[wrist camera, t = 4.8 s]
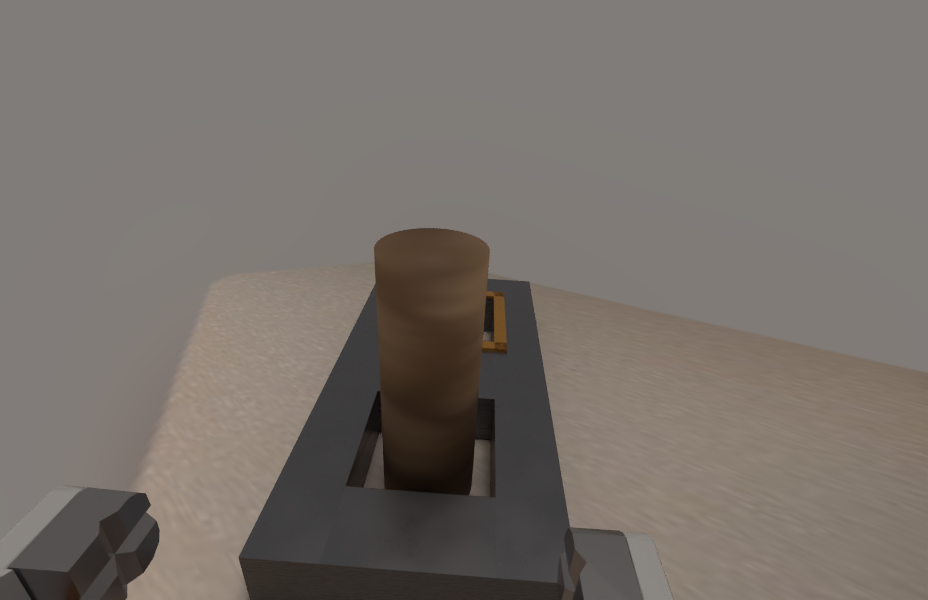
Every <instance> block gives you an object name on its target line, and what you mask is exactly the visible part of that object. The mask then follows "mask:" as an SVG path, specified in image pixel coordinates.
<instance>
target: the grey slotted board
mask: <svg viewBox="0 0 928 600" xmlns="http://www.w3.org/2000/svg"><path fill="white" fill-rule="evenodd" d="M483 331H491V342H489V341H483V343H482V356H481V369H480V381H479V394H478V407H477V420H476V432H475V439H487V440H491V497H480V496H467V495H453V494H440V493H427V492H414V491H401V490H387V489H374V488H363V486H364V482H365V479H366V475H367V472H368V469H369V465H370V462H371V459H372V455H373V452H374V448H375V445H376V442H377V438H378V435H379V432H382V414H381V391H380V368H379V346H378V323H377V300H376V284H375V286H374V288H373V290H372V292H371V294H370V296H369V298H368V300H367V302H366V304H365V306H364V308H363V310H362V312H361V314H360V316H359V318H358V320H357V322H356V324H355V326H354V328H353V330H352V332H351V334H350V336H349V338H348V340H347V342H346V344H345V346H344V348H343V350H342V352H341V354H340V356H339V358H338V360H337V362H336V364H335V366H334V368H333V370H332V372H331V374H330V376H329V378H328V380H327V382H326V384H325V386H324V388H323V390H322V392H321V394H320V396H319V398H318V400H317V402H316V404H315V406H314V408H313V410H312V412H311V414H310V416H309V418H308V420H307V422H306V424H305V426H304V428H303V430H302V432H301V434H300V436H299V438H298V440H297V442H296V444H295V446H294V448H293V450H292V452H291V454H290V456H289V458H288V460H287V462H286V464H285V466H284V468H283V470H282V472H281V474H280V476H279V478H278V480H277V482H276V484H275V486H274V488H273V490H272V492H271V494H270V496H269V498H268V500H267V502H266V504H265V506H264V508H263V510H262V512H261V514H260V516H259V518H258V520H257V522H256V524H255V526H254V528H253V530H252V532H251V534H250V536H249V538H248V540H247V542H246V544H245V546H244V548H243V550H242V552H241V554H240V556H239V561H240V565H241V568H242V572H243V576H244V579H245V583H246V586H247V590H248V593H249V597H250V600H559V598H558V585H557V577H558V564H559V559H560V555H561V554H562V553H564V552H565V551H566V550H565V543H564V538H565V534H566V530H567V529H568V528H569V527H570V525H569V519H568V513H567V507H566V501H565V495H564V489H563V483H562V477H561V471H560V465H559V459H558V453H557V447H556V441H555V434H554V428H553V422H552V416H551V410H550V404H549V398H548V392H547V386H546V380H545V374H544V368H543V362H542V356H541V350H540V344H539V338H538V332H537V326H536V320H535V314H534V308H533V302H532V296H531V289H530V283H529V282H526V281H511V280H496V279H488V280H487V292H486V305H485V318H484V330H483Z"/></svg>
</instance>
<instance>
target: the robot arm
mask: <svg viewBox="0 0 928 600" xmlns="http://www.w3.org/2000/svg"><path fill="white" fill-rule="evenodd" d="M150 506H151V505H150V502H149V500H148V498H147V495H146V493H136V492H127V491H117V490H108V489H97V488H90V487H78V486H66V485H62V486H60V487H58V488H56V489H54V490H52V491H51V492H50V493H48V494H47V495H46V496H45V498H44V499H42V500H41V501H40V502H39V503H38V504H37V505H36V506H35V507H34V508H33V509H32V510H31V511H30V512H29V513H28V514H27V515H26V516H25V517H24V518H23V519H22V520H21V521H20V522H19V523H18V524H17V525H16V526H15V527H14V528H13V529H12V530H11V531H10V532H9V533H8V534H7V535H6V536H5V537H4V538H3V539H2V540H0V600H126V598H127V584H128V583H130V582H131V581H133V580H134V579H135V578H137V577H138V576H140V575H141V574H143V573H144V571H145V570H146V568H147V567H148V565H149V564H150V562H151V560H152V559H153V557H154V554H155V551H156V549H157V546H158V543H159V527H158V524H157V521H156V520H155V519H153V518H152V517H151V516H150V515H149V514H147V513H146V511H147V510H148V508H149V507H150ZM564 543H565V550H566V551H565V552H564V553H562V554H561V555H560V559H559V564H558V577H557V585H558V598H559V600H674V599H673V596H672V593H671V590H670V587H669V584H668V581H667V578H666V575H665V572H664V570H663V567H662V564H661V561H660V558H659V555H658V552H657V549H656V546H655V543H654V541H653V539H652V538H651V536H650V535H649V534H646V533H632V532H620V531H616V530H601V529H586V528H571V527H569V528H568V529H567V530H566V534H565V538H564Z"/></svg>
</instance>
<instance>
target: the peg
mask: <svg viewBox="0 0 928 600" xmlns="http://www.w3.org/2000/svg"><path fill="white" fill-rule="evenodd" d="M374 253H375V277H376V300H377V323H378V346H379V368H380V391H381V414H382V437H383V460H384V483H385V489H387V490H401V491H414V492H427V493H440V494H453V495H467V496H468V495H469V493H470V490H471V483H472V471H473V458H474V445H475V432H476V420H477V407H478V394H479V381H480V369H481V356H482V343H483V330H484V318H485V305H486V292H487V280H488V267H489V253H490V250H489V247H488V245H487V244H486V243H485V242H484V241H482V240H481V239H479V238H477V237H475V236H472V235H470V234H467V233H463V232H459V231H454V230H448V229H435V228H420V229H410V230H403V231H399V232H395V233H392V234H389V235H387V236H385V237H383V238H381V239H380V240H379V241H378V242H377V243H376V244H375V247H374Z"/></svg>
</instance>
